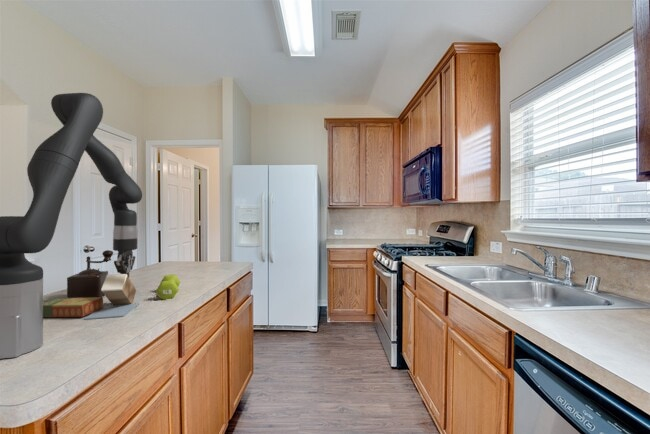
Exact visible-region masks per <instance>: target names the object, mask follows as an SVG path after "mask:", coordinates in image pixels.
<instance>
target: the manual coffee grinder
mask: <svg viewBox="0 0 650 434" xmlns="http://www.w3.org/2000/svg"><path fill="white" fill-rule="evenodd" d="M101 255H102V256H103V259H102V260H91V259H92V258H91V256H87V257H86V258H85V259H86V261H85V262H86V269H84V270H82V271H80V272H78V273H75V274H73V275H70V276H68V277H67V278H66V281H67V282H66V285H67V286H66V298H90V297H103V298H104V296H105V295H104V293H103V292H102V291H101V289H102V286H103V284H104V281H105V279H106V276H107V275H109V271H108V270H104V271H103V270H100V268H96V269H95V268H91V264H102V263H108V262H111V261H112V259H111V257H112V256H113V255H114V251H113V250H108V249H107V250H104V251H103V252H102V254H101Z"/></svg>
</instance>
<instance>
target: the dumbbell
mask: <svg viewBox="0 0 650 434" xmlns="http://www.w3.org/2000/svg"><path fill="white" fill-rule="evenodd" d="M180 284H181V280H180V278H179V276H177V275H176V274H166V275H164V276H163V278H162V279H161V281H160V283H159V285H158V287H157V288H156V290H155V292H156V295H157V296H158V298H159V299H160V300H172V299H174V298H175V297H176V295H177V293H178V292H179V286H180Z"/></svg>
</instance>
